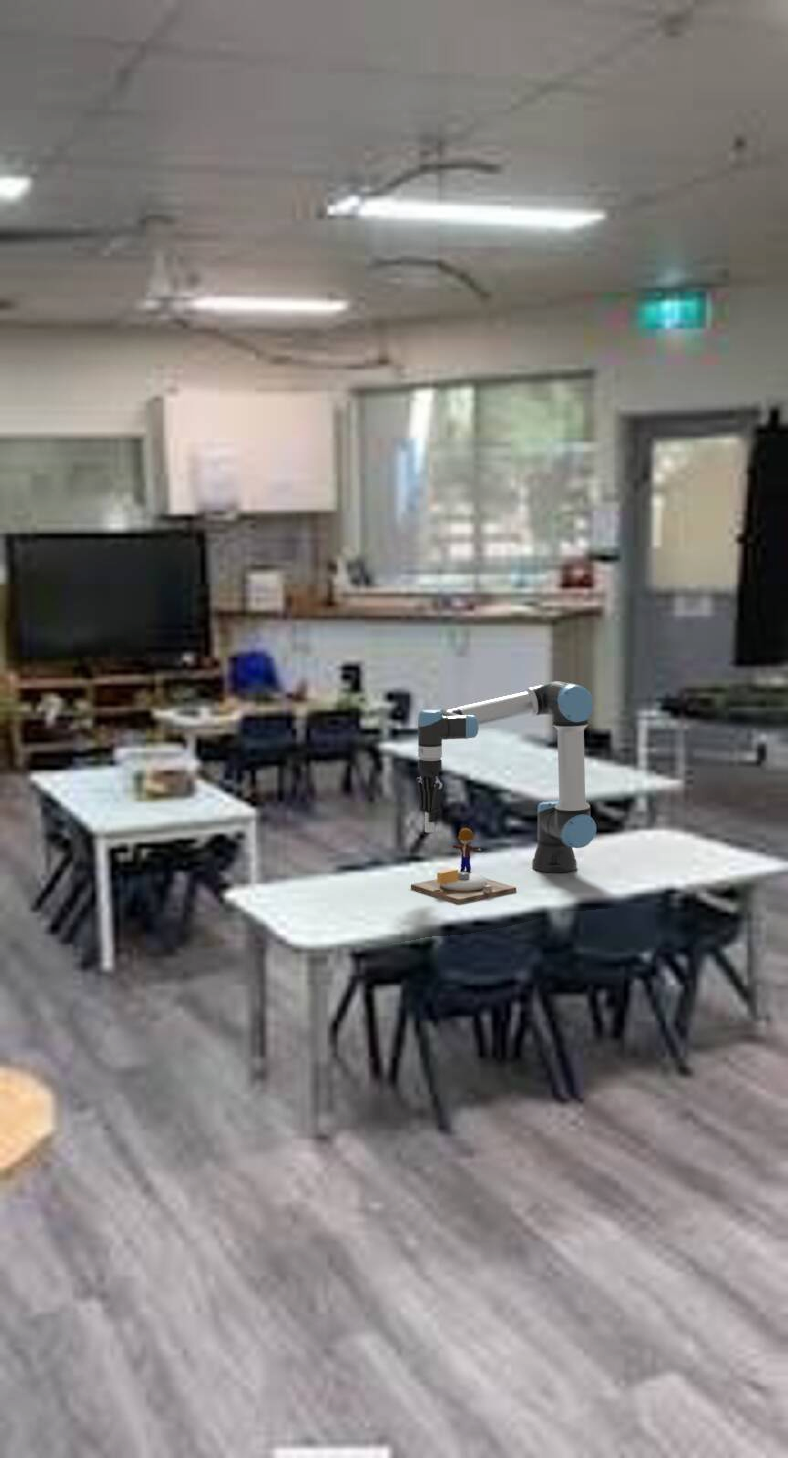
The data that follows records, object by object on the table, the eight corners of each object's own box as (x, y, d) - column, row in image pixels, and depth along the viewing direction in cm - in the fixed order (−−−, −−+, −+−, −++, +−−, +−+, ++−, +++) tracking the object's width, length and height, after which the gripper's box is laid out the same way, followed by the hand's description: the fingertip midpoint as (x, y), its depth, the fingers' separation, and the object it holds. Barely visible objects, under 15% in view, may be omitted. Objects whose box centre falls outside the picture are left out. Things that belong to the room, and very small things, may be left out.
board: (467, 877, 479) (467, 867, 478) (516, 891, 460) (516, 881, 459) (410, 888, 464) (410, 878, 464) (458, 904, 446) (458, 893, 445)
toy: (447, 871, 487) (447, 828, 485) (454, 868, 492) (454, 825, 490) (477, 875, 482) (477, 831, 480) (483, 871, 487) (483, 828, 485)
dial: (466, 877, 472) (466, 860, 472) (496, 885, 461) (496, 869, 460) (424, 885, 462) (424, 868, 461) (454, 894, 450) (454, 877, 449)
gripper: (408, 757, 460) (408, 829, 464) (431, 762, 449) (431, 836, 453) (428, 755, 464) (428, 826, 468) (451, 760, 453) (450, 834, 457)
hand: (429, 831), depth 460 cm, fingers closed
